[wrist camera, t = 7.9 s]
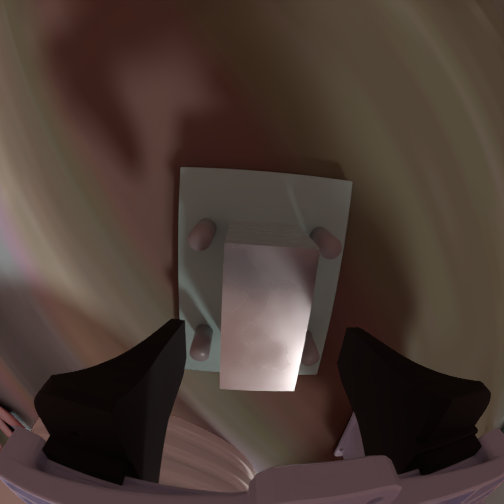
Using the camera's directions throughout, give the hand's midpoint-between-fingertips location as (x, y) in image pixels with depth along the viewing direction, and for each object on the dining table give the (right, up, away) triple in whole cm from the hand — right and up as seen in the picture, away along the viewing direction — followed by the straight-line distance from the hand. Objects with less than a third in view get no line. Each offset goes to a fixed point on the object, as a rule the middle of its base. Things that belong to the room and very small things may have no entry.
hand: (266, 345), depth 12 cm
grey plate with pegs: (0, +2, +7) cm, 7 cm away
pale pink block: (0, +2, +6) cm, 6 cm away
